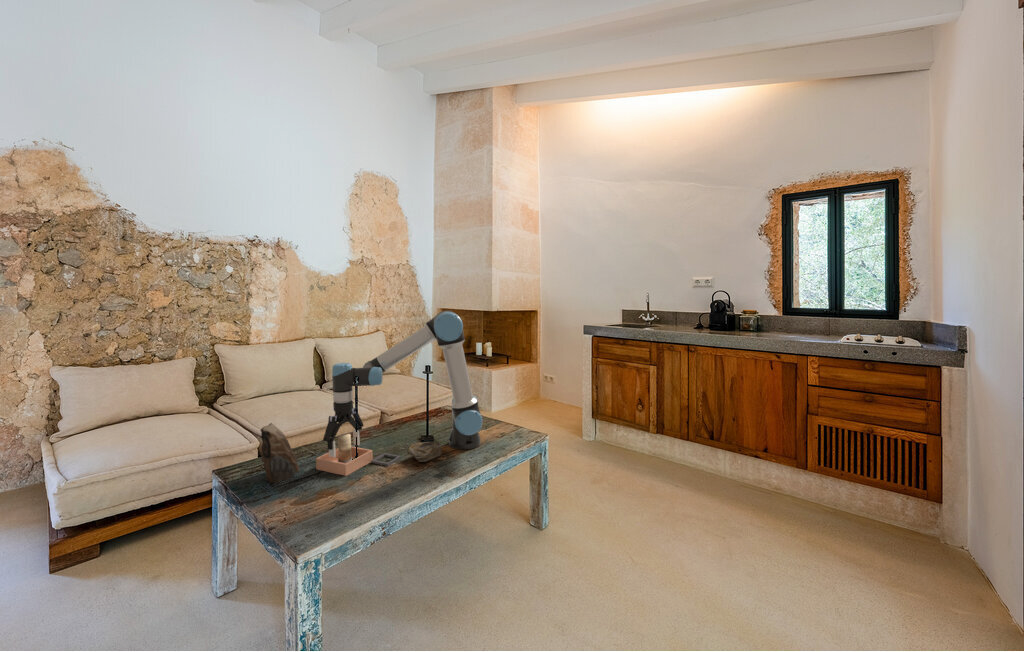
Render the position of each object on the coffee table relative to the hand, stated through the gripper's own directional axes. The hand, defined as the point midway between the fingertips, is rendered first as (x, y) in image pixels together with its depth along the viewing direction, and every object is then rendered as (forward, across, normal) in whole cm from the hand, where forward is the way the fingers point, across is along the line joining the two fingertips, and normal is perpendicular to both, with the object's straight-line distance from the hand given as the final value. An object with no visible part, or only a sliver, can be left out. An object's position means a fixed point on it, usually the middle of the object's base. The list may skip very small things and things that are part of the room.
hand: (344, 450), depth 175 cm
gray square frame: (+6, -10, +13) cm, 18 cm away
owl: (+6, +18, -16) cm, 24 cm away
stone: (+7, -18, +27) cm, 34 cm away
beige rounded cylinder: (+6, 0, 0) cm, 6 cm away
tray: (+6, 0, 0) cm, 6 cm away
